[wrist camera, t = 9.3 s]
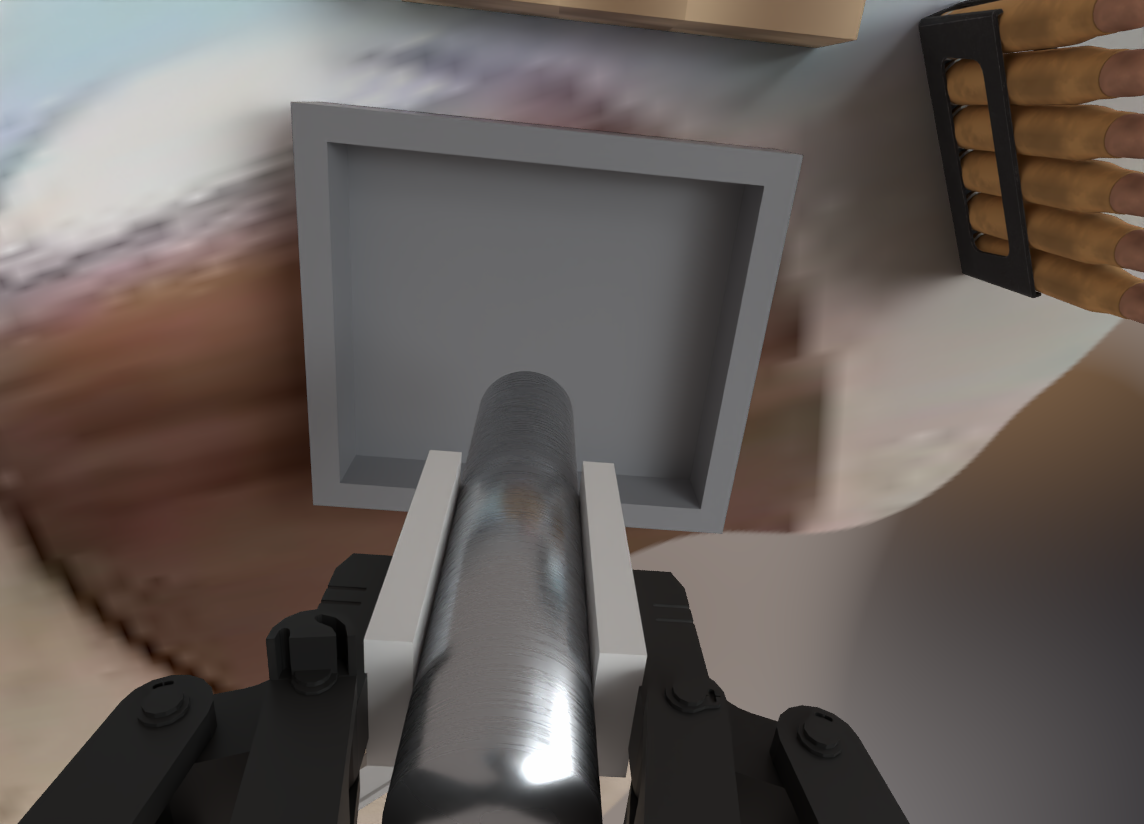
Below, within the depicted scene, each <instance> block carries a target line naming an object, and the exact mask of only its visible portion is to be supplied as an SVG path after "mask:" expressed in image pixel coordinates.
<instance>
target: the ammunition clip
mask: <svg viewBox="0 0 1144 824" xmlns="http://www.w3.org/2000/svg"><path fill="white" fill-rule="evenodd" d="M1141 27H1144V0H967V1H963V2H961V3H959V4H956V5H954V6H951V7H949V8H947V9H944V10H942V11H940V12H937V13H935V14H933V15H930V16H928V17H926V18H923V19H921V22H920V24H919V32H920V38H921V43H922V49H923V55H924V60H925V66H926V71H927V77H928V83H929V88H930V94H931V99H932V105H933V110H934V116H935V122H936V127H937V133H938V138H939V144H940V150H941V155H942V161H943V166H944V172H945V177H946V183H947V189H948V194H949V200H950V205H951V211H952V217H953V222H954V228H955V233H956V239H957V245H958V250H959V256H960V261H961V267H962V272H963V274H966V275H968V276H971V277H974V278H977V279H980V280H983V281H986V282H988V283H991V284H994V285H997V286H1000V287H1003V288H1005V289H1008V290H1011V291H1014V292H1017V293H1020V294H1023V295H1025V296H1028V297H1031V298H1036V297H1038V296H1041V293H1043V294H1046V295H1049V296H1051V297H1054V298H1056V299H1059V300H1062V301H1064V302H1067V303H1070V304H1072V305H1075V306H1077V307H1080V308H1083V309H1085V310H1088V311H1092V312H1099V313H1107V314H1112V315H1115V316H1118V317H1122V318H1125V319H1131V320H1134V321H1136V322H1139V323H1142V324H1144V280H1143V279H1140V278H1137V277H1135V276H1133V275H1131V274H1129V273H1128V272H1126V271H1125V270H1123V269H1122V268H1126V269H1132V270H1136V271H1140V272H1144V228H1141V227H1138V226H1134V225H1131V224H1128V223H1126V222H1124V221H1123V220H1121V219H1119V218H1117V217H1115V216H1112V215H1108V214H1104V213H1102V212H1108V213H1115V214H1123V215H1124V214H1128V215H1134V216H1141V217H1144V173H1143V172H1139V171H1133V170H1128V169H1124V168H1121V167H1119V166H1117V165H1115V164H1113V163H1110V162H1105V161H1099V160H1091V159H1096V158H1137V159H1144V114H1138V113H1134V112H1125V111H1117V110H1114V109H1111V108H1108V107H1104V106H1098V105H1078V104H1083V103H1087V102H1091V101H1095V100H1098V99H1112V98H1118V97H1134V96H1142V95H1144V49H1136V50H1129V49H1106V48H1101V47H1095V46H1080V47H1069V48H1059V49H1057V47H1064V46H1070V45H1075V44H1079V43H1082V42H1085V41H1087V40H1090V39H1092V38H1094V37H1097V36H1103V35H1108V34H1112V33H1117V32H1120V31H1126V30H1132V29H1136V28H1141ZM1030 50H1033V51H1030ZM1021 51H1027V52H1021ZM1013 52H1017V53H1013ZM1004 53H1006V54H1004ZM1036 291H1038V292H1036ZM1039 292H1041V293H1039Z"/></svg>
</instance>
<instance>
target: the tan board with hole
mask: <svg viewBox="0 0 1144 824" xmlns="http://www.w3.org/2000/svg"><path fill="white" fill-rule="evenodd" d="M402 1H405V2H414V3H423V4H432V5H441V6H450V7H458V8H467V9H476V10H485V11H494V12H503V13H512V14H520V15H529V16H538V17H547V18H556V19H565V20H573V21H582V22H591V23H600V24H609V25H618V26H626V27H635V28H644V29H653V30H662V31H671V32H680V33H688V34H697V35H706V36H715V37H724V38H733V39H741V40H750V41H759V42H768V43H777V44H786V45H794V46H803V47H812V48H819V47H824V46H829V45H834V44H839V43H844V42H848V41H853V40H857V36H858V32H859V27H860V23H861V18H862V14H863V10H864V5H865V1H866V0H402Z"/></svg>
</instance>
